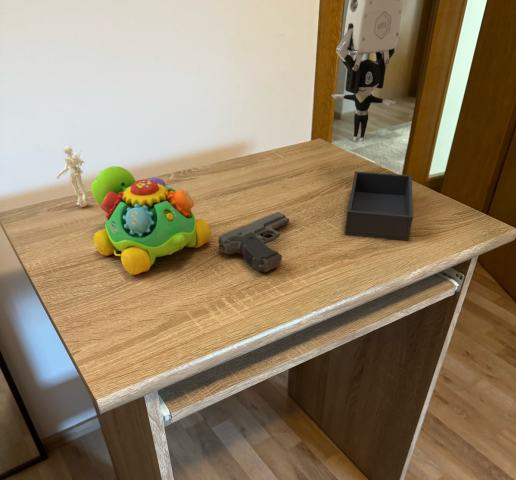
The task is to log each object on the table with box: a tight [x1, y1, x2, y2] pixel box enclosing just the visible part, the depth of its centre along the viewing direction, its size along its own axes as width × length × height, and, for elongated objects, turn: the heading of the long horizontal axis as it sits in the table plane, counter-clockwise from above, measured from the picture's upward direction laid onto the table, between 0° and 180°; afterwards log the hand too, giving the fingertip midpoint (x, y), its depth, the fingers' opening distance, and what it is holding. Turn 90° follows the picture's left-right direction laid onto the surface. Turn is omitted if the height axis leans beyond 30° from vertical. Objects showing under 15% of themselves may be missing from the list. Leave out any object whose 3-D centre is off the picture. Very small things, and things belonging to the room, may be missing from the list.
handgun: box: [218, 211, 290, 273], centre depth 84 cm, size 3×16×12 cm
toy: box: [330, 58, 397, 143], centre depth 98 cm, size 13×6×15 cm, turn 62°
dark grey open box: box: [344, 170, 414, 241], centre depth 92 cm, size 11×18×4 cm, turn 167°
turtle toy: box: [90, 165, 212, 275], centre depth 83 cm, size 17×23×12 cm
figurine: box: [55, 145, 89, 208], centre depth 94 cm, size 5×6×12 cm
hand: (364, 88), depth 96 cm, fingers closed on toy, 5 cm apart
